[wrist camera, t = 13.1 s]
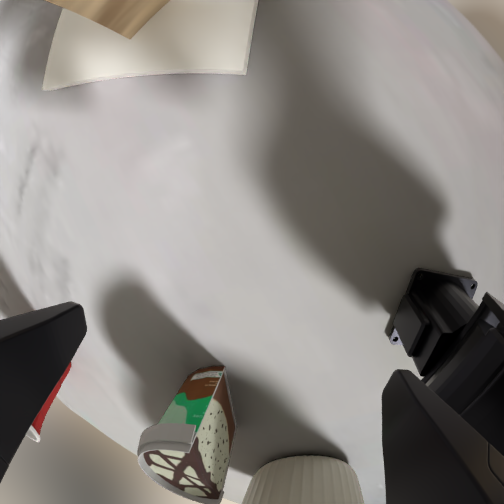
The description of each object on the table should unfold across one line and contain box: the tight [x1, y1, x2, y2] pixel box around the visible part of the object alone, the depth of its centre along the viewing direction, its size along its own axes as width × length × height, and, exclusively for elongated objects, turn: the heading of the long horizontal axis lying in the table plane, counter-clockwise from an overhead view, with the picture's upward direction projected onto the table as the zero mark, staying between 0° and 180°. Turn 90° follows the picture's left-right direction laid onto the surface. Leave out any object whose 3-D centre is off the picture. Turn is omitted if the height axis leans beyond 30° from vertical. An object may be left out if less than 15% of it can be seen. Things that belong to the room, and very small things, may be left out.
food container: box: [138, 366, 237, 504], centre depth 21 cm, size 12×6×10 cm, turn 5°
